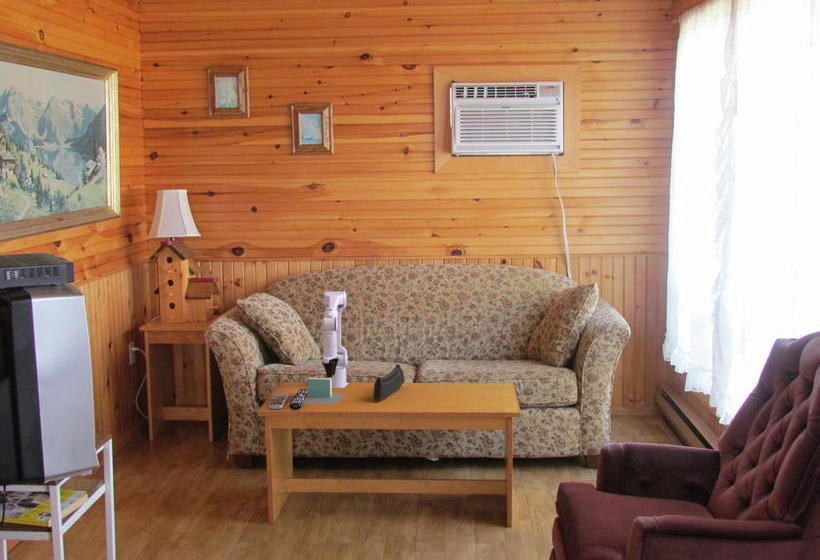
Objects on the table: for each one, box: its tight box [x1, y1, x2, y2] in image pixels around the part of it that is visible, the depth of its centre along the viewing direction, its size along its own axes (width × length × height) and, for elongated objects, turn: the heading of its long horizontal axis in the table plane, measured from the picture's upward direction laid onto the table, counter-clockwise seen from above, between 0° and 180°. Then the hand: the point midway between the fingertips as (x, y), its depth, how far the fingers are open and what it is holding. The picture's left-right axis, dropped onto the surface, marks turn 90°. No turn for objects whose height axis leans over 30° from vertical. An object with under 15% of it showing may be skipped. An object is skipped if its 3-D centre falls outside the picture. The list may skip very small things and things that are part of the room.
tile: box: [307, 377, 333, 398], centre depth 401 cm, size 2×10×8 cm, turn 79°
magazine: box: [372, 364, 405, 401], centre depth 405 cm, size 17×3×30 cm
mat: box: [289, 393, 346, 406], centre depth 399 cm, size 18×20×1 cm
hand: (330, 376), depth 396 cm, fingers open, 3 cm apart
